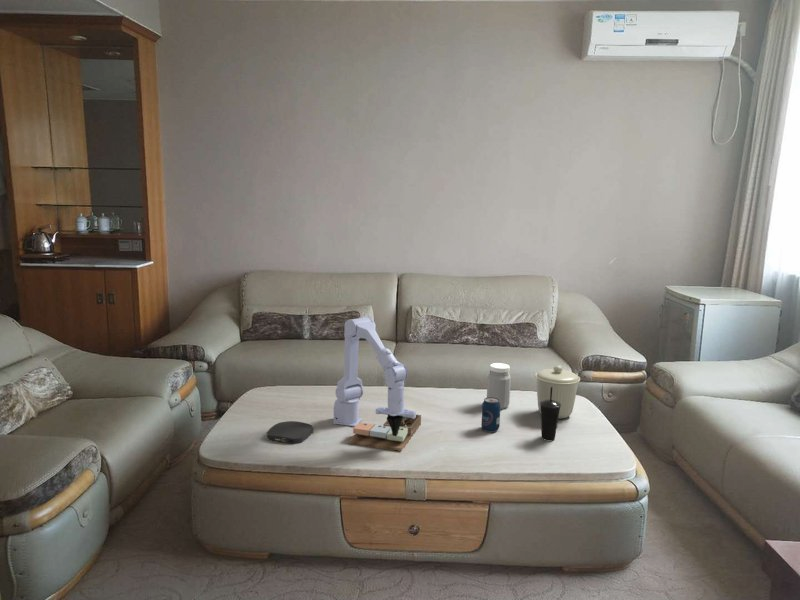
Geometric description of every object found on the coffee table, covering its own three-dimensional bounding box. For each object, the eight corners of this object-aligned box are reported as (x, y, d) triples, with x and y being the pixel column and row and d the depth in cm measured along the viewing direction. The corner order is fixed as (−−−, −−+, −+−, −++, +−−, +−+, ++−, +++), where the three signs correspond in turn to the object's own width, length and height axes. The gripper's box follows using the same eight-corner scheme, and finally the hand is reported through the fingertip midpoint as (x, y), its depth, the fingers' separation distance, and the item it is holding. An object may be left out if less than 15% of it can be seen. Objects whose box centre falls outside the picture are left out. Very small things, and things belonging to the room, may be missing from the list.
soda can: (477, 429, 232) (479, 399, 230) (487, 424, 237) (489, 395, 235) (492, 434, 228) (494, 404, 225) (502, 429, 233) (504, 399, 230)
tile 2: (369, 435, 217) (369, 430, 217) (375, 429, 223) (375, 424, 222) (385, 438, 215) (385, 432, 215) (390, 431, 221) (390, 426, 221)
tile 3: (386, 439, 215) (386, 434, 215) (392, 430, 221) (391, 425, 220) (402, 441, 214) (402, 436, 213) (407, 432, 219) (407, 427, 218)
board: (348, 443, 217) (348, 433, 216) (373, 418, 241) (373, 408, 241) (401, 451, 211) (401, 441, 210) (421, 424, 235) (421, 415, 235)
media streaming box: (316, 430, 229) (316, 423, 228) (299, 446, 215) (299, 438, 214) (281, 426, 233) (281, 418, 232) (263, 440, 219) (263, 433, 218)
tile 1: (353, 433, 219) (353, 427, 219) (359, 427, 225) (359, 421, 224) (368, 435, 217) (368, 430, 217) (374, 429, 223) (374, 424, 223)
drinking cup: (559, 435, 227) (563, 385, 224) (557, 443, 220) (561, 391, 217) (538, 432, 230) (542, 382, 226) (536, 440, 223) (539, 389, 219)
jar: (492, 400, 265) (494, 360, 261) (513, 405, 259) (515, 365, 256) (482, 406, 257) (484, 365, 254) (503, 411, 251) (505, 370, 248)
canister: (574, 408, 256) (578, 361, 253) (579, 424, 239) (583, 373, 235) (531, 405, 259) (534, 358, 256) (533, 420, 242) (536, 370, 238)
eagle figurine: (413, 429, 228) (415, 417, 236) (403, 415, 226) (405, 403, 234) (397, 438, 230) (399, 425, 238) (386, 424, 228) (389, 411, 236)
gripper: (372, 399, 211) (372, 436, 213) (412, 404, 206) (411, 441, 209) (379, 393, 217) (379, 429, 220) (417, 398, 213) (417, 434, 215)
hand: (395, 434), depth 215 cm, fingers closed, pressing on tile 3
